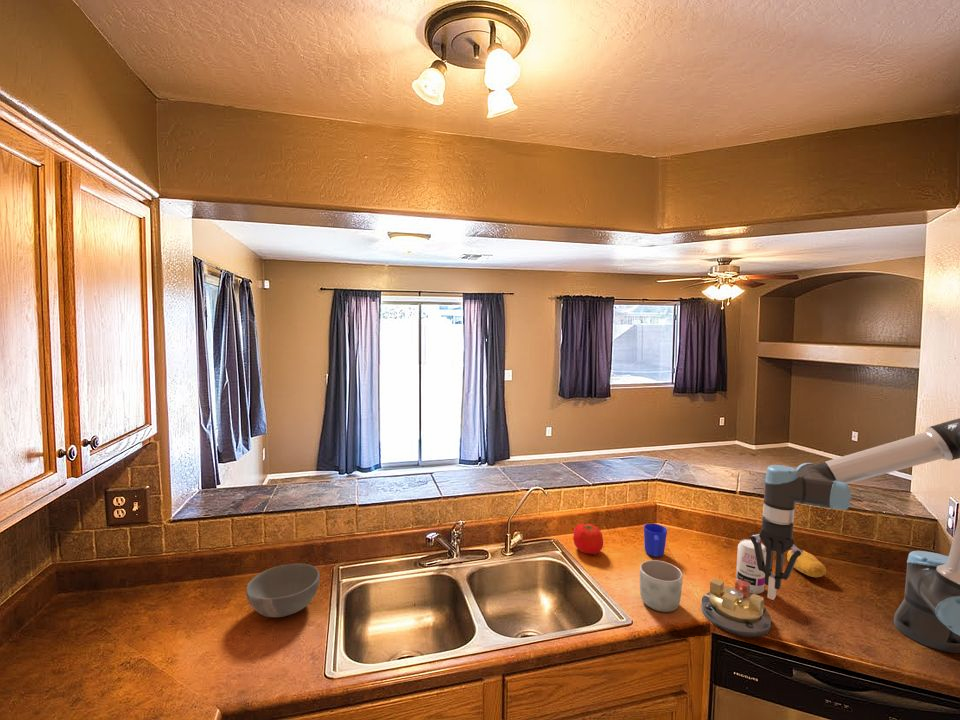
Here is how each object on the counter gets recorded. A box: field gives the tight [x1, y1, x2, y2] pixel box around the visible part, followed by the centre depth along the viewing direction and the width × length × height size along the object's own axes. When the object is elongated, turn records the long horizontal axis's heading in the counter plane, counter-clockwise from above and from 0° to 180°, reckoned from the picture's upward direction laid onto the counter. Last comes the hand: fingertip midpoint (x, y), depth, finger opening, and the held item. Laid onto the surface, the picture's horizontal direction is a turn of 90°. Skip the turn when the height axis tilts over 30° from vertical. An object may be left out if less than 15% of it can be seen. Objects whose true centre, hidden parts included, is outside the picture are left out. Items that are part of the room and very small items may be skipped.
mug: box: [643, 523, 668, 558], centre depth 171 cm, size 8×12×10 cm
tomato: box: [572, 522, 604, 555], centre depth 174 cm, size 11×13×10 cm
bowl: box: [245, 562, 320, 618], centre depth 136 cm, size 20×20×10 cm
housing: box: [700, 589, 772, 638], centre depth 136 cm, size 18×18×8 cm
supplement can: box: [735, 538, 766, 595], centre depth 150 cm, size 8×8×15 cm
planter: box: [639, 559, 684, 613], centre depth 141 cm, size 12×12×11 cm
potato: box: [786, 549, 827, 578], centre depth 160 cm, size 8×14×7 cm, turn 1°
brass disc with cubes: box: [709, 577, 765, 623], centre depth 136 cm, size 14×14×6 cm
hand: (771, 597), depth 133 cm, fingers closed
